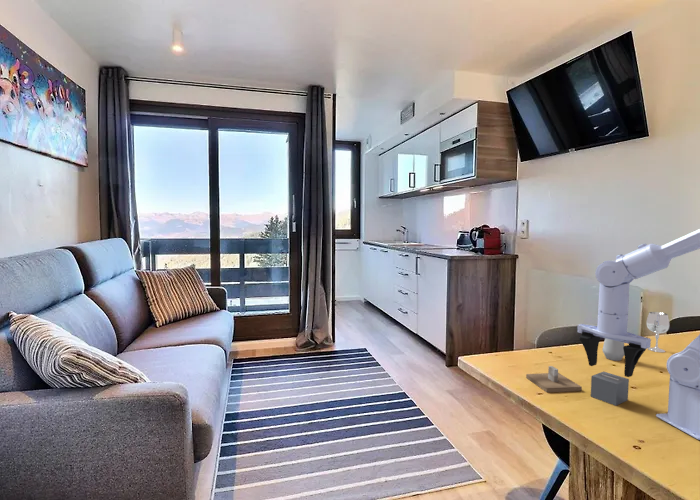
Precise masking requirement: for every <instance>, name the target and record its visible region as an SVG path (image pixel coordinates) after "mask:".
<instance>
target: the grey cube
mask: <svg viewBox="0 0 700 500" xmlns="http://www.w3.org/2000/svg"><path fill="white" fill-rule="evenodd" d="M590 379H591V381H590V397H591V398H593V399H596V400H599V401H601V400H602V402H604V403H608V404H610V405H612V404H613V406H618V405H620V404H623V403H625V402H627V401H628V400H629V386H630V384H629V383H630V379H629V378H628V377H625V376H624V377H623V376H620V375H617V374H613V373H609V372H608V371H607V372H606V371H601V372H598V373H595V374H594V375H591V376H590Z"/></svg>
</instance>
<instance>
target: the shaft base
mask: <svg viewBox="0 0 700 500" xmlns="http://www.w3.org/2000/svg"><path fill="white" fill-rule="evenodd" d="M547 369H548V372H545V373H543V372H542V373H526V374H525V378H526V379H527V380H528V381H530V382H532V384H534V385H536V386H537V387H538V388H540V389H541V390H543V391H544V392H546V393H561V392H564V393H565V392H580V391H582V389H583V387H582V386H581V385H580V384H578V383H577V382H574V381H573V380H571V379H570V378H568V377H567V376H565V375H563V374H561V373H559V369H558V368H556V367H554V365H548V368H547Z"/></svg>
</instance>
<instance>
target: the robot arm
mask: <svg viewBox="0 0 700 500" xmlns="http://www.w3.org/2000/svg"><path fill="white" fill-rule="evenodd" d="M637 248H638V249H635V250H633V251H630V252H628V253H625V254H618V255H616V256H615V260H612V259H609V260H603V262H602V263H600V264H598V265H597V267H596V269H595V278H596V279H597V281H598V282H599V285H598V287H599V289H598V303H597V304H598V307H597V309H598V311H597V326H596V325H590V324H584V323H579V324H577V333H579V334H581V335H579V337H578V338H579V341H580V343H581V344H582V347H583V348H584V351H585V354H586V357H587V361H588V366H590V367H593V366H596V365H597V364H598V350H599V345H600V344H599V343H600V340H601V338H603V339H605V338H606V339H611V340H615V341H619V342H623V343H624V344H626V345H624V346H623V349H624V372H623V373H624V377H625V378H630V377H633V375H634V371H635V368H636V367H637V363H638V362H639V360H640V358H641V356H642V355H643V354H644V353H645V351H646V350H648V348H651V343H652V342H651V341H652V339H651V338H648V337H645V336H641V335H638V334H635V333H633V332H629V331H628V326H629V325H628V320H629V306H630V305H629V304H630V284H631V283H632V282H633V281H634V280H638V279H641V278H643V277H646V276H648V275H651V274H653V273H656V272H659V271H661V270H665V269H667V268H668V267H669V266H670V263H671V261H672V260H673V259H674V258H678V257H681V256H684V255H686V254H689V253H691V252H695V251H697V250H700V228H698V229H696V230H694V231H692V232H689V233H687V234H686V235H683V236H681V237H678V238H676V239H674V240H672V241H669V242H667V243H665V244H663V245H661V244H656V243H653V242H652V243H649V244H647V243H641V244H639V245H638V246H637ZM666 369H667V370H666V371H667V372H668V374H669V386H668V401H667V402H668V405H667V413H656V414H655V416H656V418H658V419H660V420H662V421H664V422H665V423H667V424H670V425H671V426H673V427H675V428H676V429H678V430H680V431H682V432H684V433H686V434H687V435H689V436H690V437H692V438H694V439H697V440H699V441H700V333H699V334H698V335H697V336H696V338H694V339H693V340H691V342H690V343H689V344H688V345H687V346H686V347H685V348H684V349H683V350H681V351H679V352H676V353H674V354H671V355H670V356H669V357H668V358H667V360H666Z"/></svg>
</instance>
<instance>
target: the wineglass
mask: <svg viewBox="0 0 700 500" xmlns="http://www.w3.org/2000/svg"><path fill="white" fill-rule="evenodd" d="M646 327H647V329H648V330H649V331H651V332H652V333H655V335H654V337H655V346H654V347H650V348H647V350H648V351H651V352H656V353H666V349H665V350H664V349H662V348H660V347H659V346H658V345H659V344H658V343H659V339H660V334H664V333H666V332H668V331H669V330H670V319H669V314H668V313H665V312H660V311H649V313H648V314H647V318H646Z"/></svg>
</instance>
